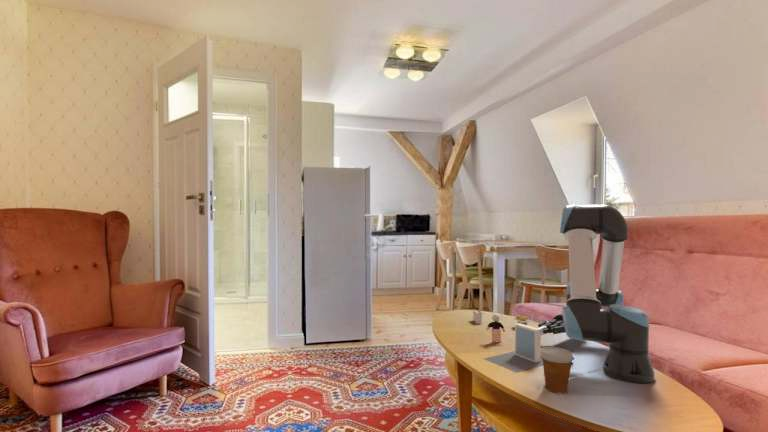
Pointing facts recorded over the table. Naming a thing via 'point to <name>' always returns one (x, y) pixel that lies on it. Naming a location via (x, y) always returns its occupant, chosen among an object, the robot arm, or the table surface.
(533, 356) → the tile
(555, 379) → the disposable coffee cup
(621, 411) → the table surface
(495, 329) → the grandmother figurine
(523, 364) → the mat
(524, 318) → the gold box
